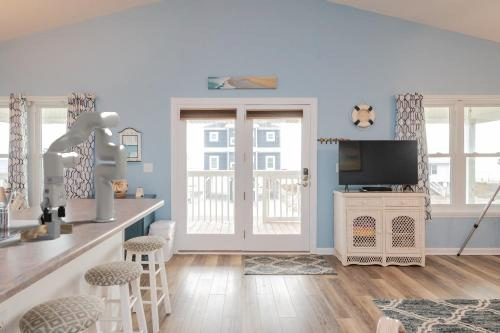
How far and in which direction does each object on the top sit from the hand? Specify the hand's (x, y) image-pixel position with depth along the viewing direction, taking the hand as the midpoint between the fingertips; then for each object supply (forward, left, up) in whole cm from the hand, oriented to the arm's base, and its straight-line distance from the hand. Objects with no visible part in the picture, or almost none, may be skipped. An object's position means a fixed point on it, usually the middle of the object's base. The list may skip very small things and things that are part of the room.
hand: (54, 219), depth 145 cm
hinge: (-19, -13, -8) cm, 24 cm away
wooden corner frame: (-1, -4, -8) cm, 9 cm away
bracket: (+1, -3, -8) cm, 8 cm away
